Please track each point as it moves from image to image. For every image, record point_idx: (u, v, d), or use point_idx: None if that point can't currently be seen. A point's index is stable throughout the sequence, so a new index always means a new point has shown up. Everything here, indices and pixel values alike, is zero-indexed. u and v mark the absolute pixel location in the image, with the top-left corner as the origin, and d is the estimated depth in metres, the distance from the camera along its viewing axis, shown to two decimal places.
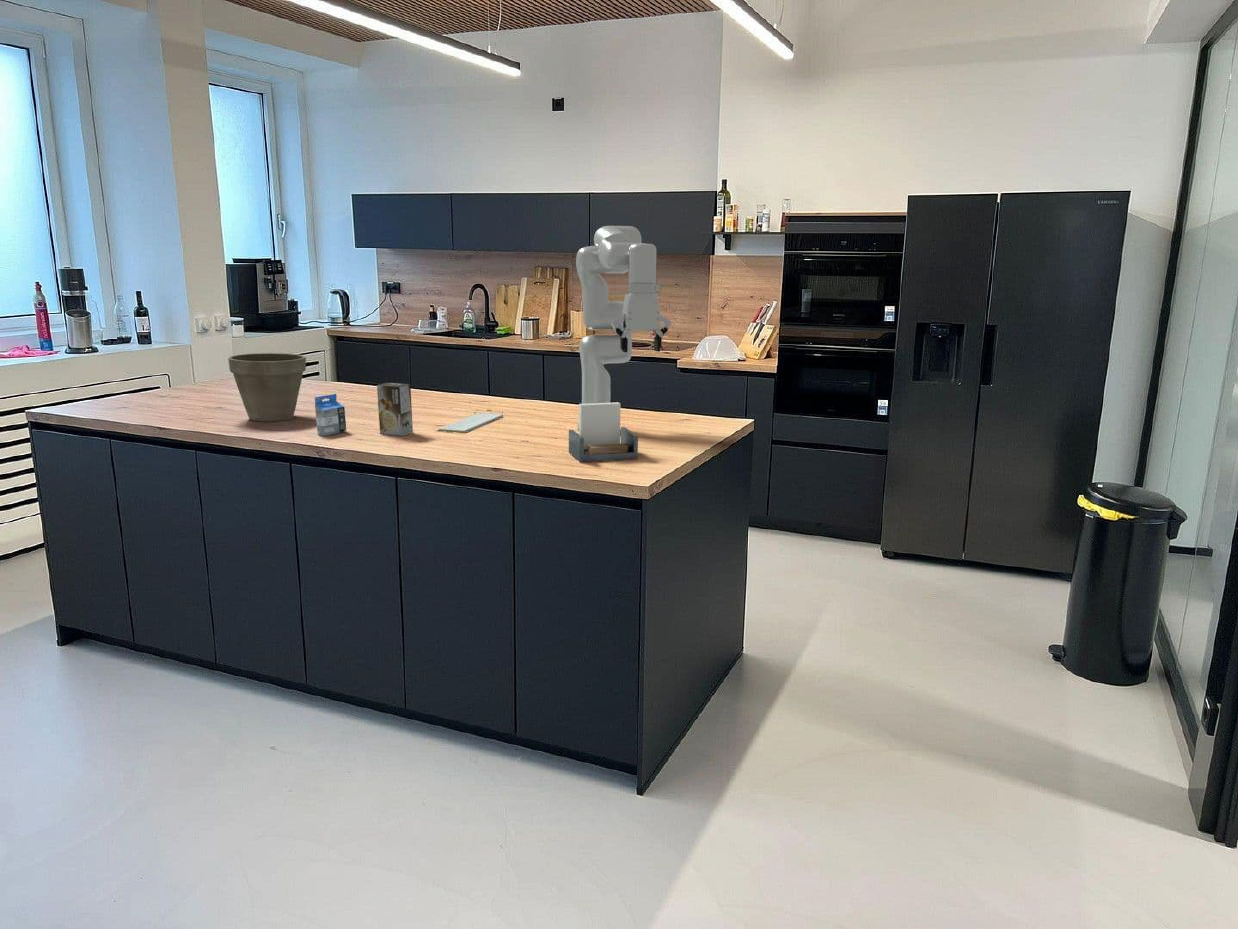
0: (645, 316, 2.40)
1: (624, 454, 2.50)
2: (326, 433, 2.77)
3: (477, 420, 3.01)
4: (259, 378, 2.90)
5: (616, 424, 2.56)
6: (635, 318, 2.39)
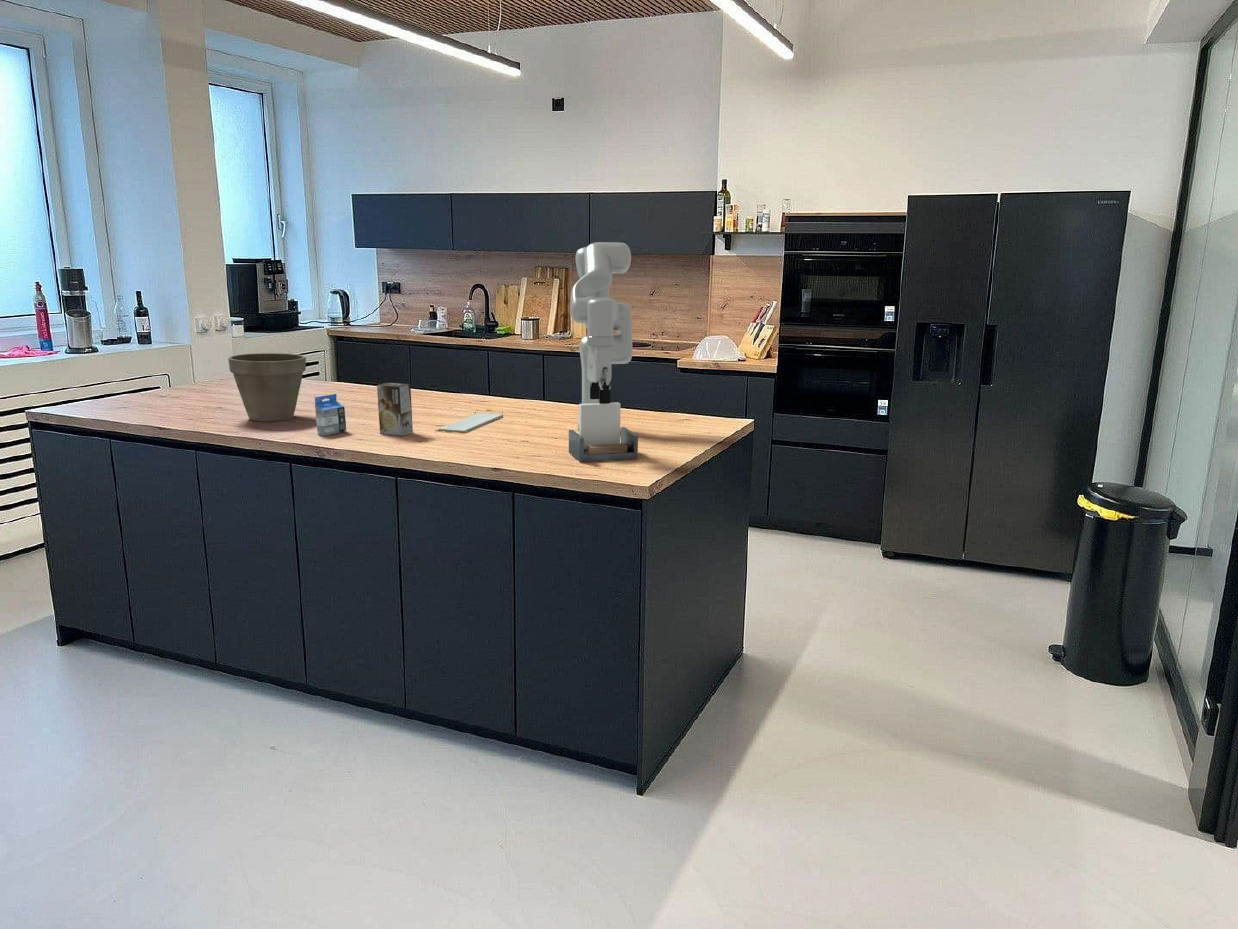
0: None
1: (624, 454, 2.50)
2: (326, 433, 2.77)
3: (477, 420, 3.01)
4: (259, 378, 2.90)
5: (616, 425, 2.56)
6: None
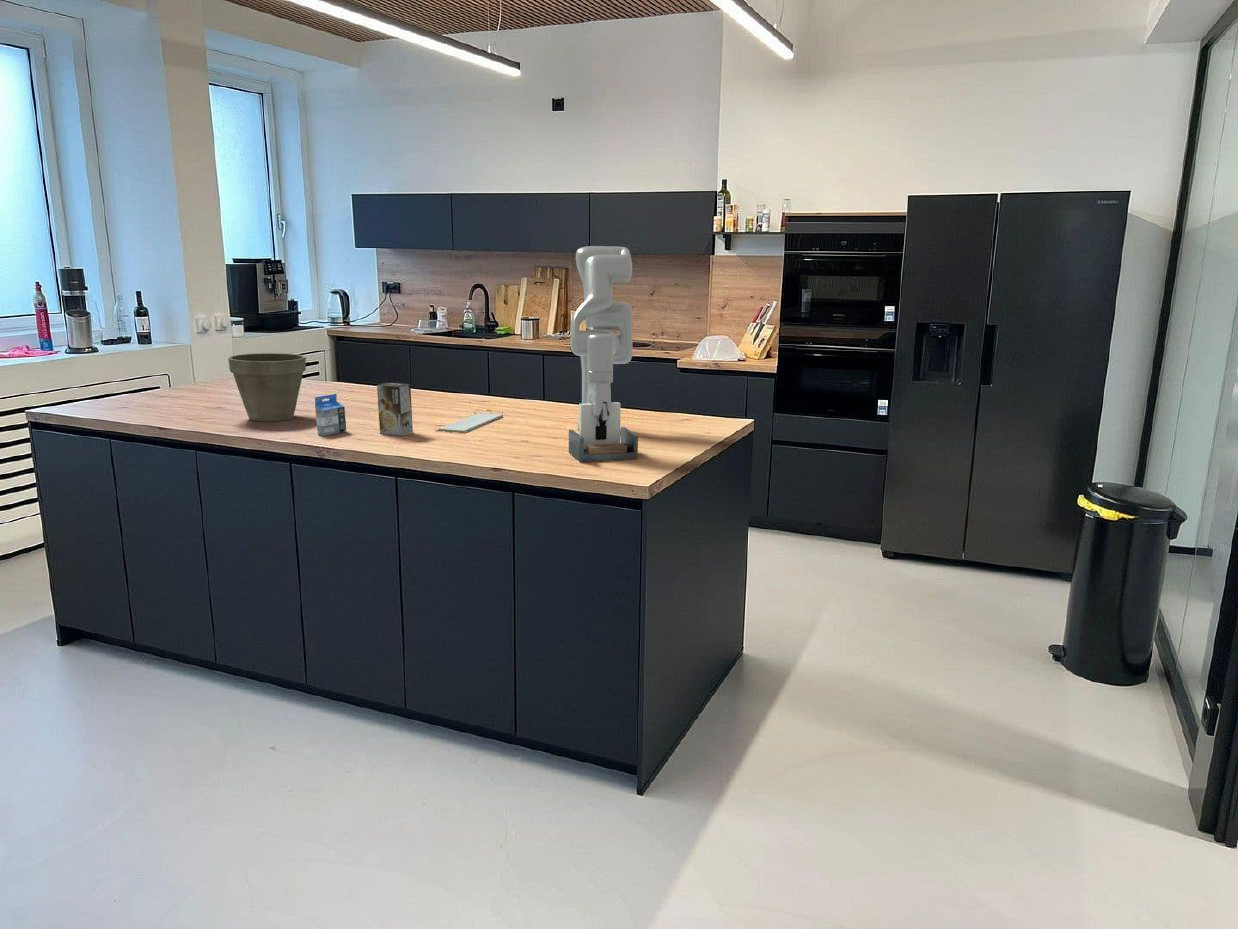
0: None
1: (624, 454, 2.50)
2: (326, 433, 2.77)
3: (477, 420, 3.01)
4: (259, 378, 2.90)
5: (616, 424, 2.56)
6: None
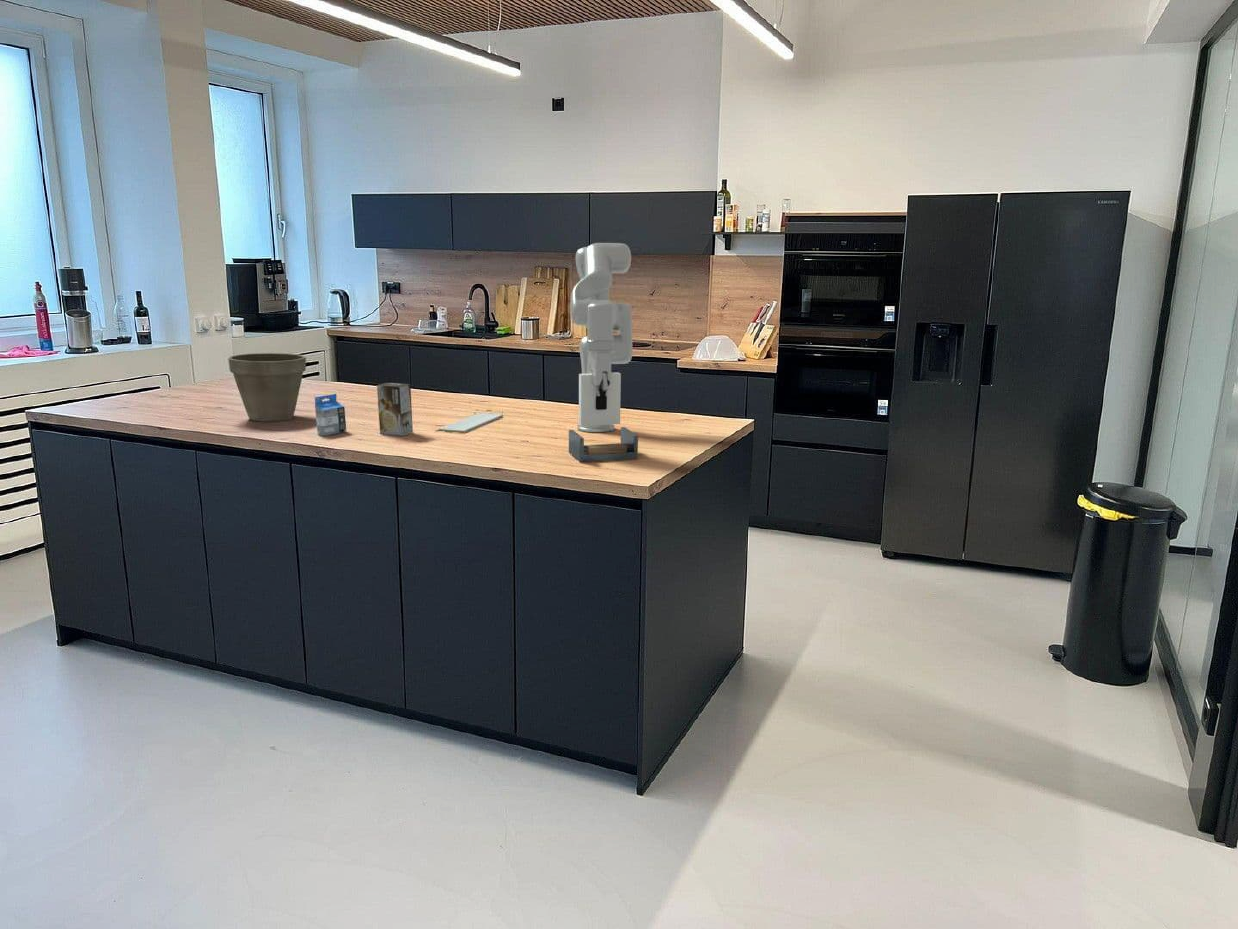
0: None
1: (624, 454, 2.50)
2: (326, 433, 2.77)
3: (477, 420, 3.01)
4: (259, 378, 2.90)
5: (617, 395, 2.55)
6: None
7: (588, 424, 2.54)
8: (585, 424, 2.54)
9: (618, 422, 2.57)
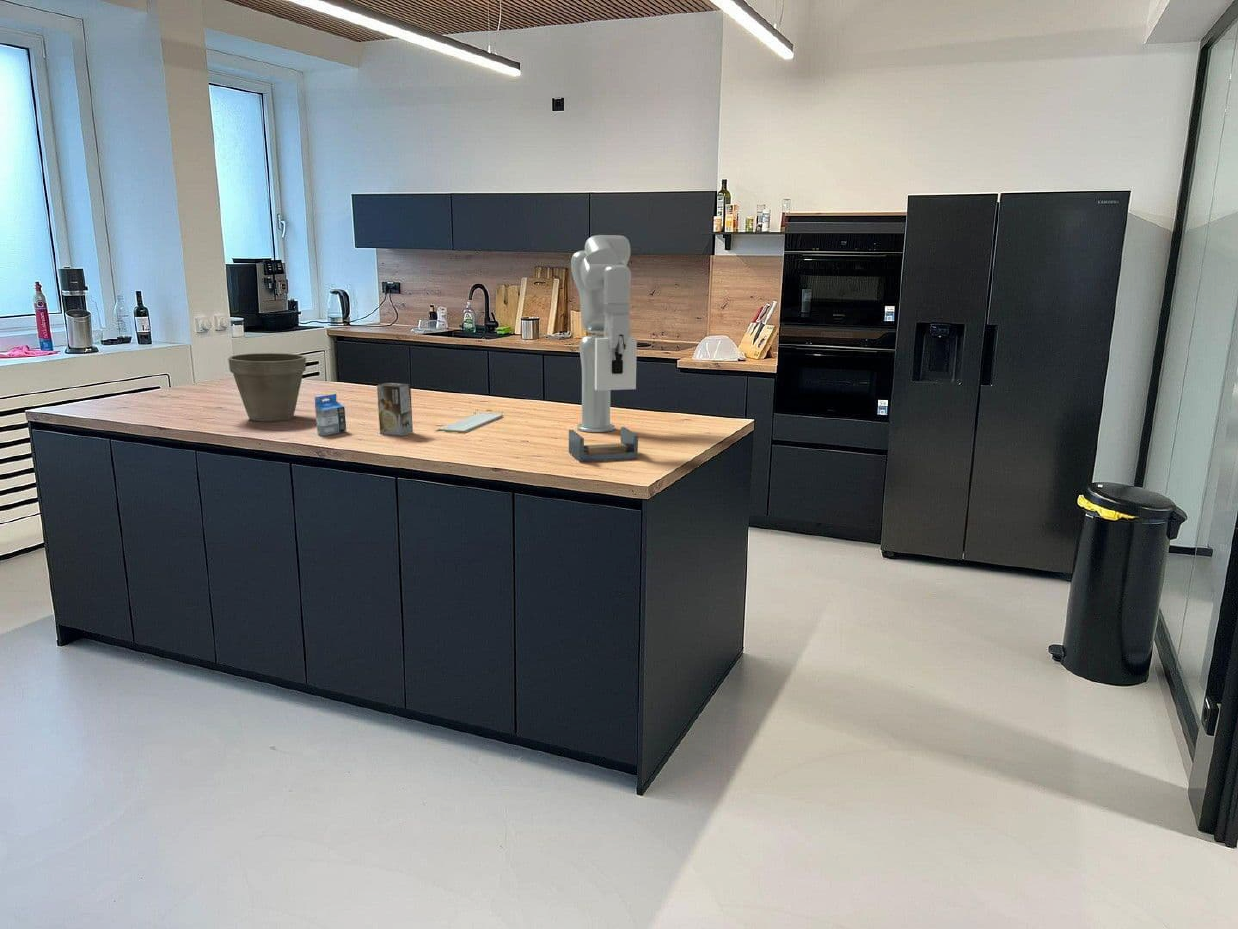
0: None
1: (624, 454, 2.50)
2: (326, 433, 2.77)
3: (477, 420, 3.00)
4: (259, 378, 2.90)
5: (632, 360, 2.55)
6: None
7: (604, 389, 2.55)
8: (601, 388, 2.54)
9: (634, 387, 2.57)
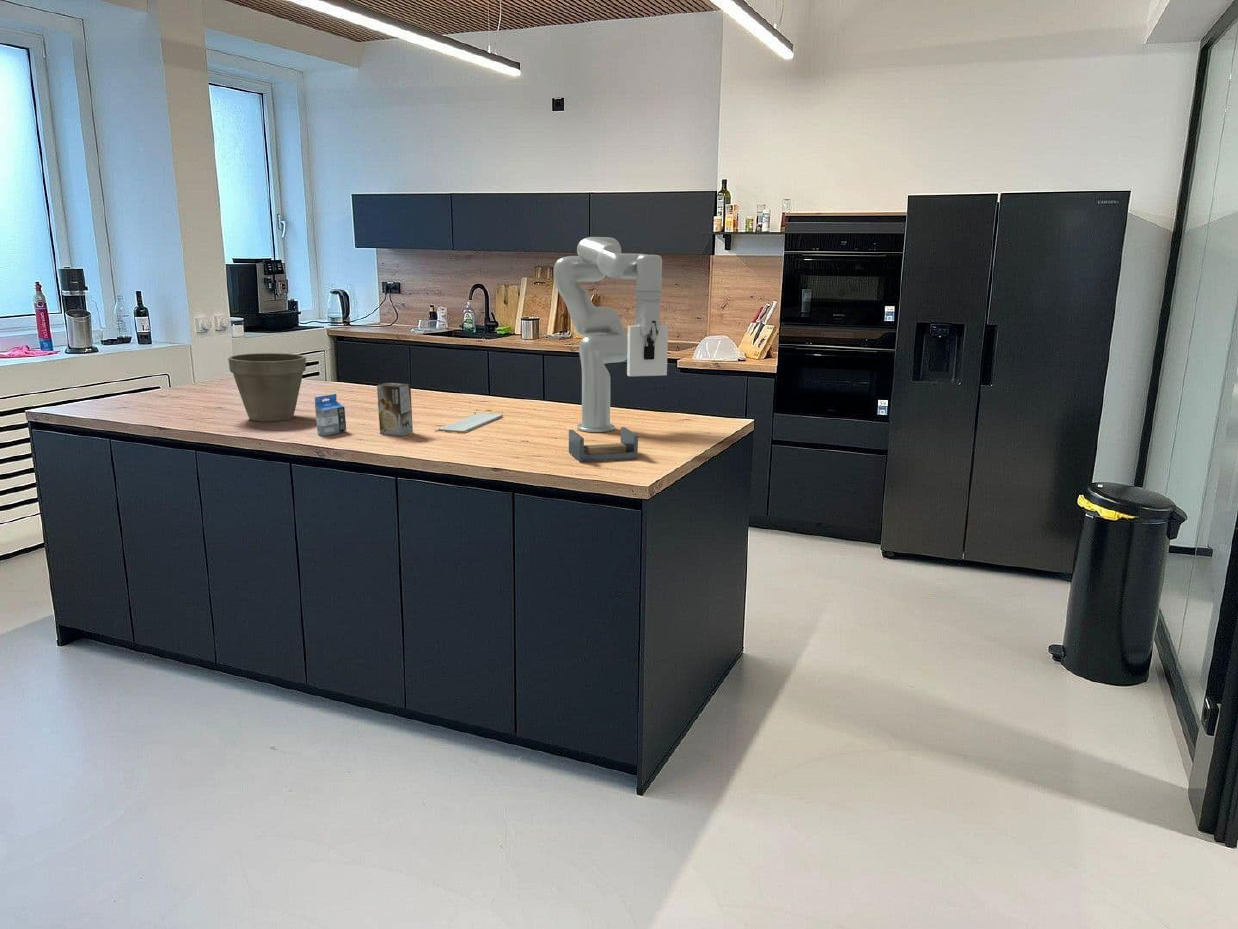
0: None
1: (624, 454, 2.50)
2: (326, 433, 2.77)
3: (477, 420, 3.00)
4: (259, 378, 2.90)
5: (664, 346, 2.63)
6: None
7: (636, 375, 2.62)
8: (633, 375, 2.62)
9: (665, 373, 2.65)
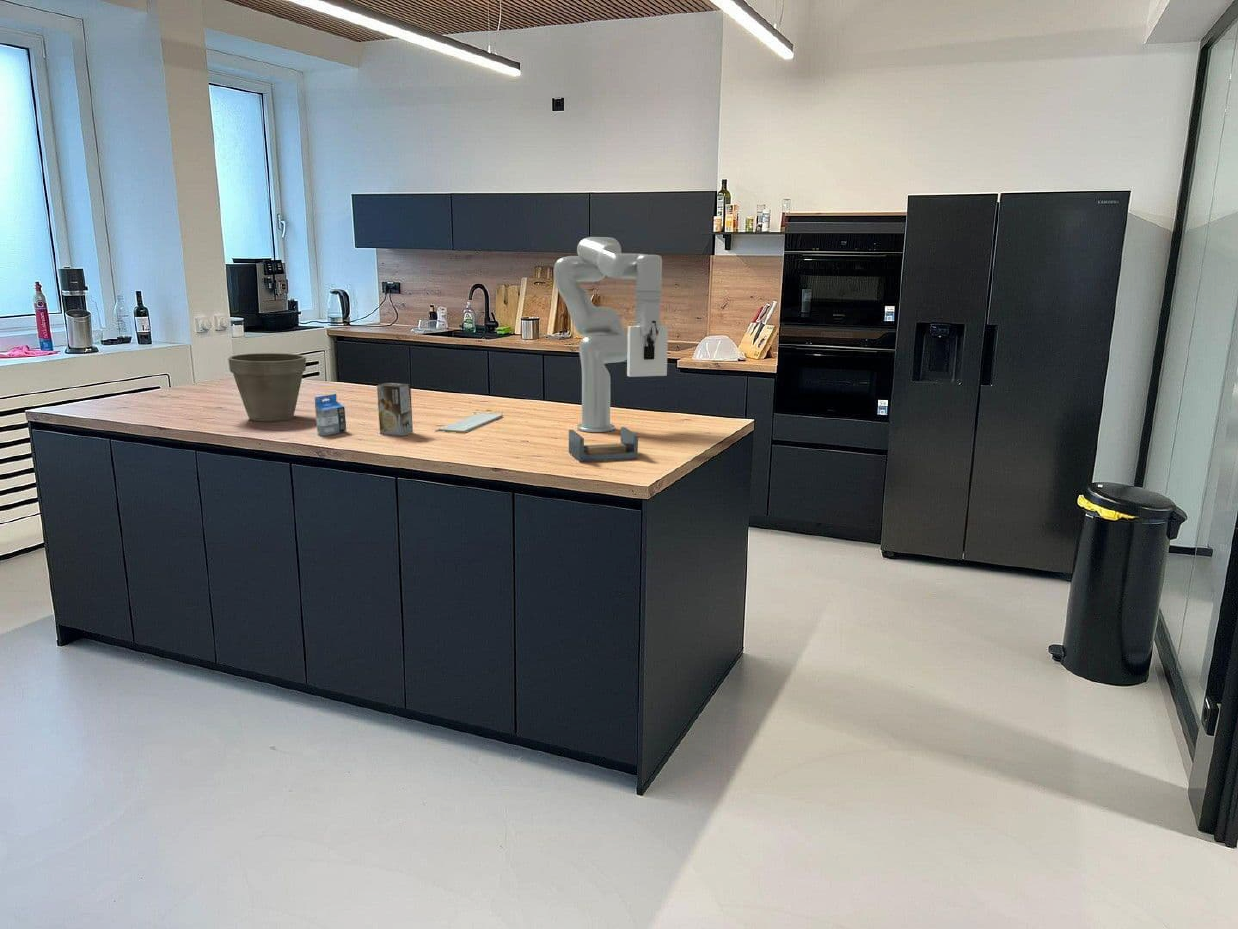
0: None
1: (624, 454, 2.50)
2: (326, 433, 2.77)
3: (477, 420, 3.00)
4: (259, 378, 2.90)
5: (664, 347, 2.63)
6: None
7: (636, 375, 2.62)
8: (633, 375, 2.62)
9: (665, 374, 2.65)
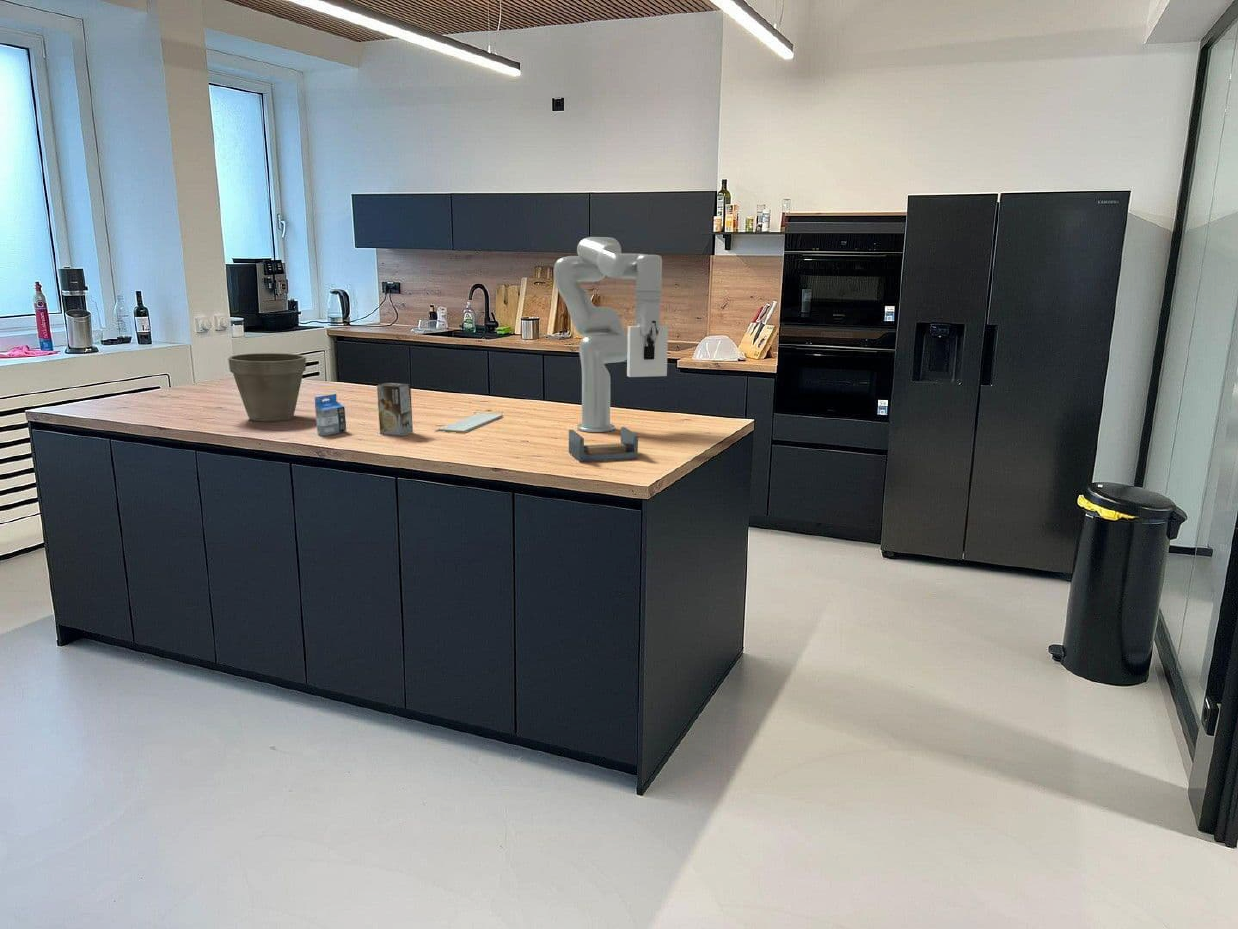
0: None
1: (624, 454, 2.50)
2: (326, 433, 2.77)
3: (477, 420, 3.00)
4: (259, 378, 2.90)
5: (664, 347, 2.63)
6: None
7: (636, 375, 2.62)
8: (633, 375, 2.62)
9: (665, 374, 2.65)
